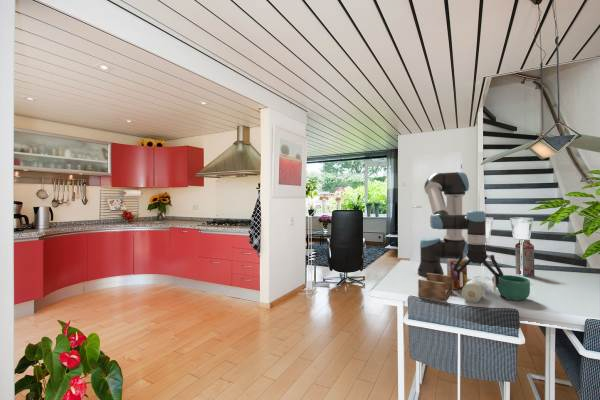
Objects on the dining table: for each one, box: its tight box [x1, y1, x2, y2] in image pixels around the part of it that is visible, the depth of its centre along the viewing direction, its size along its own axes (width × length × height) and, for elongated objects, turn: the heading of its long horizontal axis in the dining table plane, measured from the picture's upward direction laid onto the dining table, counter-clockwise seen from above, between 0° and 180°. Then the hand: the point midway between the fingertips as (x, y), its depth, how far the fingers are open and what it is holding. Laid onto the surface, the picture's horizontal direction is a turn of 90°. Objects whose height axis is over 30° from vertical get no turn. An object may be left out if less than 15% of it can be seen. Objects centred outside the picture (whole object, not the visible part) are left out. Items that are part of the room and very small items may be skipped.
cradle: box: [417, 273, 453, 302], centre depth 148 cm, size 12×18×8 cm, turn 143°
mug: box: [491, 274, 531, 301], centre depth 142 cm, size 17×13×10 cm
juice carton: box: [514, 239, 535, 277], centre depth 184 cm, size 7×7×22 cm
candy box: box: [446, 258, 468, 290], centre depth 157 cm, size 9×4×15 cm, turn 89°
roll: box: [461, 279, 485, 304], centre depth 139 cm, size 12×8×8 cm, turn 143°
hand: (477, 288), depth 138 cm, fingers open, 13 cm apart
